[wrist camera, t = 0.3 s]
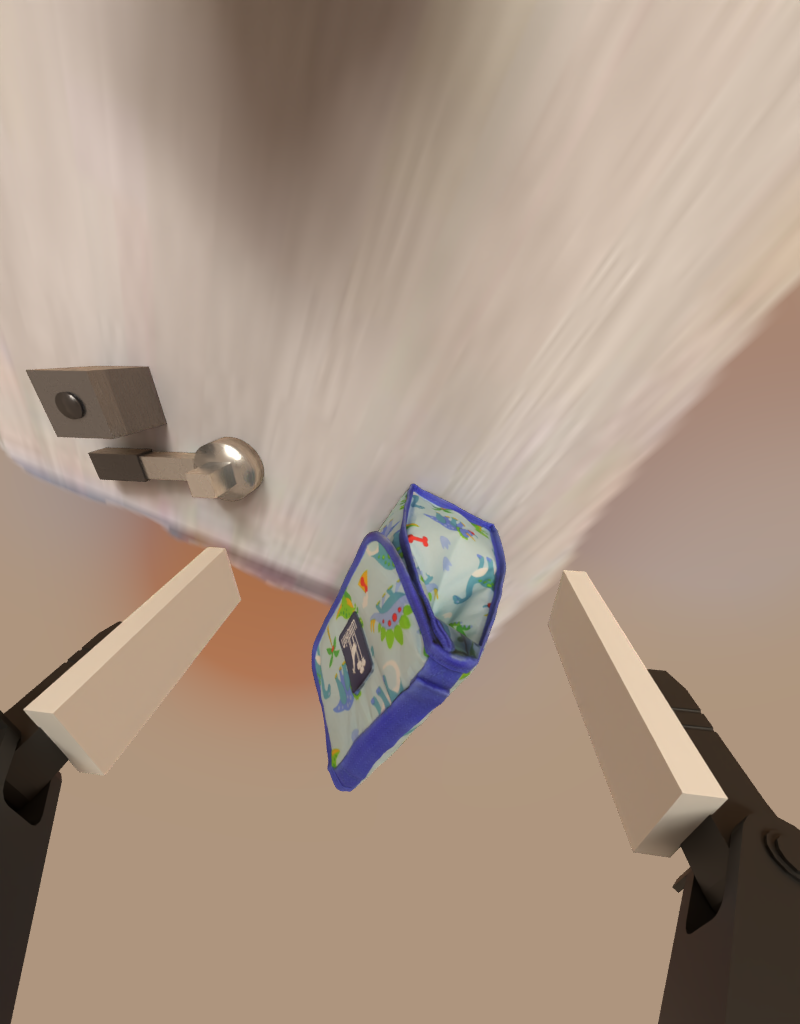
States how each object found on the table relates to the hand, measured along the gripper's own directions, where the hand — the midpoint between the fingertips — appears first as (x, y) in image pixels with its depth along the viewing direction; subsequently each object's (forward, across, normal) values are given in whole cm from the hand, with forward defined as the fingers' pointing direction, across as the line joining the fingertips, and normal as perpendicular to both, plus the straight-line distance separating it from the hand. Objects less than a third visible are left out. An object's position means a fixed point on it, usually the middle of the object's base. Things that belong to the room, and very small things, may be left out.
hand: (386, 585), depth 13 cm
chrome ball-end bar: (+30, -33, -7) cm, 45 cm away
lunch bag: (+30, -1, -20) cm, 36 cm away
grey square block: (+30, -38, +2) cm, 48 cm away
